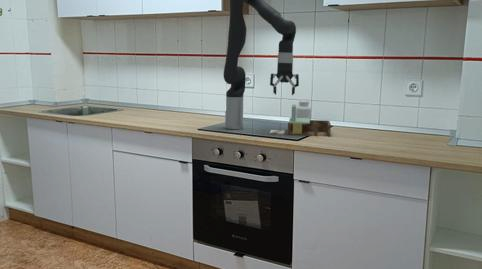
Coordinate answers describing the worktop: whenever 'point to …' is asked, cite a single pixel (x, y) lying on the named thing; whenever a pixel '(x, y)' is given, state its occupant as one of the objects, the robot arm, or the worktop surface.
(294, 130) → the block
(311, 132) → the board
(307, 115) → the pill bottle
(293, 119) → the pale grey l-shaped piece
